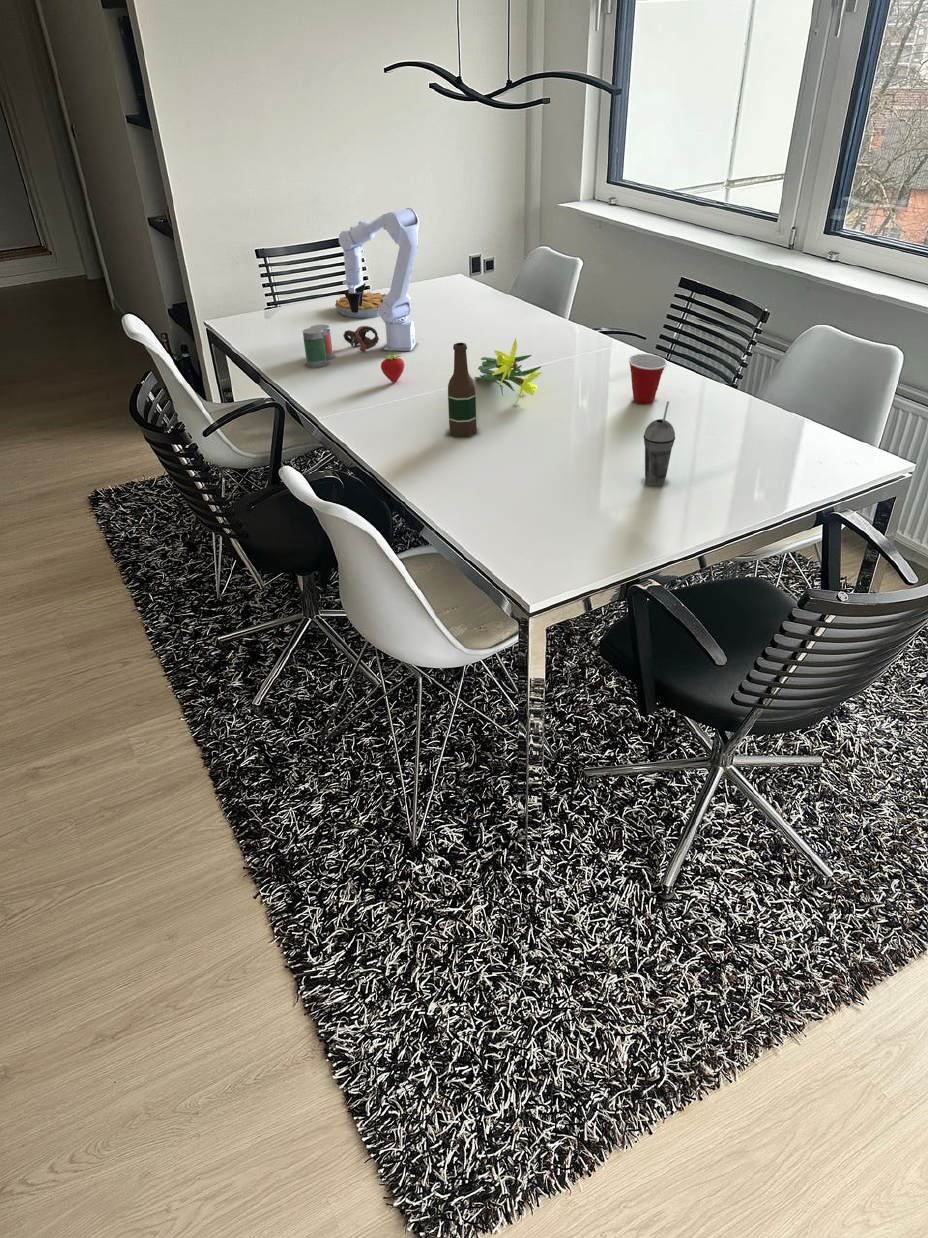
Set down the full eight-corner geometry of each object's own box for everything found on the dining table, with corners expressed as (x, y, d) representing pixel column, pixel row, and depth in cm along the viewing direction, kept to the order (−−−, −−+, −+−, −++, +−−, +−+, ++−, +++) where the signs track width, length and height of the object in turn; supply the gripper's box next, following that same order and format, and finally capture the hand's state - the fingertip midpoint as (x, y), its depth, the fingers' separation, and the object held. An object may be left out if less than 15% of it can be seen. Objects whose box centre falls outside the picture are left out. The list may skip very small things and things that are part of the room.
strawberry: (378, 382, 275) (376, 350, 269) (400, 377, 278) (398, 345, 272) (386, 387, 271) (384, 355, 265) (409, 383, 274) (407, 350, 268)
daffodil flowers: (517, 374, 279) (565, 379, 248) (483, 406, 278) (526, 415, 247) (485, 331, 272) (530, 330, 240) (450, 363, 271) (491, 366, 240)
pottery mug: (378, 343, 308) (381, 325, 301) (374, 363, 304) (378, 346, 296) (343, 335, 306) (346, 318, 299) (339, 356, 302) (342, 338, 295)
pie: (369, 322, 328) (368, 308, 325) (324, 314, 338) (323, 300, 335) (404, 307, 343) (404, 293, 340) (360, 300, 353) (359, 287, 350)
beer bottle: (481, 428, 243) (479, 340, 229) (472, 439, 237) (469, 349, 223) (454, 425, 245) (450, 338, 231) (444, 436, 239) (440, 347, 225)
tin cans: (335, 354, 298) (331, 321, 292) (323, 367, 288) (319, 333, 281) (316, 354, 299) (312, 320, 293) (304, 367, 289) (299, 333, 282)
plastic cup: (650, 410, 249) (653, 368, 242) (617, 401, 255) (620, 360, 249) (670, 399, 256) (675, 358, 249) (638, 391, 262) (642, 350, 255)
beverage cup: (636, 476, 215) (642, 397, 204) (665, 474, 216) (674, 395, 204) (643, 490, 209) (651, 408, 198) (674, 488, 210) (683, 406, 198)
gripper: (345, 262, 306) (348, 302, 314) (338, 273, 294) (341, 315, 302) (365, 262, 305) (368, 302, 313) (359, 273, 294) (362, 315, 302)
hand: (356, 309), depth 308 cm, fingers open, 7 cm apart
